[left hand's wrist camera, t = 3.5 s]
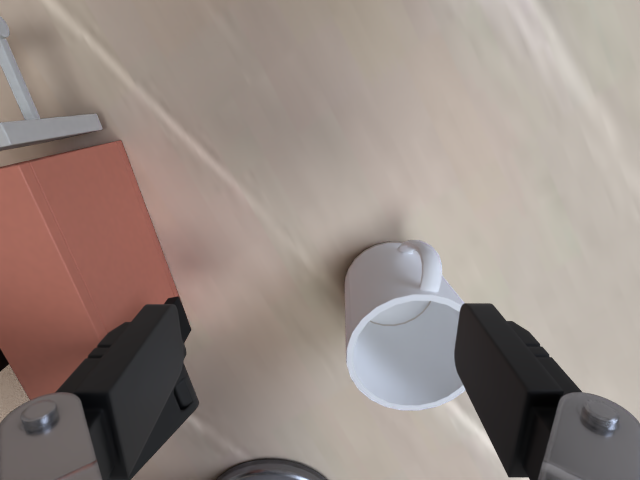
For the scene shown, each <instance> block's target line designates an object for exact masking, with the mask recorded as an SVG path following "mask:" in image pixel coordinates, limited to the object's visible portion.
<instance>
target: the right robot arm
mask: <svg viewBox="0 0 640 480" xmlns="http://www.w3.org/2000/svg"><path fill="white" fill-rule="evenodd" d="M164 304H174V305H175V306H176V307H177V310H178V315H179V322H180V329H181V336H182V343H183V351H184V358H185V356H186V348H185V346H184V342H185V341H186V339H187V337H188V335H189V333H190V331H191V327H190V325H189V322H188V319H187V317H186V314H185V311H184V309H183V306H182V303H181V301H180V298H179V296H177V297H171V298H168V299H167V300H166V302H165V303H164ZM8 364H9V363H8V361H7V359H6V357H5V356H4V354H3V352H2V350H1V349H0V371H1V370H3V369H4V368H5V367H6V366H7V365H8ZM198 405H199V401H198V398H197V396H196V393H195V390H194V388H193V385H192V383H191V380H190V378H189V375H188V373H187V371H186V368H185V366H184V363H183V367H182V371H181V374H180V376H179V378H178V380H177V382H176V384H175V386H174V388H173V390H172V392H171V394H170V396H169V398H168V400H167V402H166V404H165V406H164V408H163V410H162V412H161V414H160V416H159V418H158V420H157V422H156V424H155V426H154V428H153V430H152V432H151V434H150V436H149V438H148V440H147V442H146V444H145V446H144V448H143V450H142V452H141V454H140V456H139V458H138V460H137V462H136V464H135V466H134V468H133V470H132V472H131V474H130V476H129V478H128V479H108V480H131V479H132V478H133V476H134V475H135V474H136V473H137V472H138V471H139V470H140V469H141V468H142V467H143V466H144V465H145V463H146V462H147V461H148V460H149V459H150V458H151V457H152V456H153V455H154V454H155V453H156V452H157V451H158V449H159V448H160V447H161V446H162V445H163V444H164V443H165V442H166V441H167V440H168V439H169V438H170V437H171V435H172V434H173V433H174V432H175V431H176V430H177V429H178V428H179V427H180V426H181V425H182V424H183V423H184V421H185V420H186V419H187V418H188V417H189V416H190V415H191V414H192V413H193V412H194V411H195V410H196V408H197V407H198ZM216 480H327V479H325V478H324V477H323V476H322V475H321V474H319V473H318V472H316V471H314V470H313V469H311V468H308V467H306V466H304V465H301V464H298V463H295V462H290V461H285V460H275V459H265V460H256V461H250V462H246V463H243V464H240V465H237V466H235V467H233V468H231V469H229V470H228V471H226V472H224V473H223V474H222V475H221V476H219V477H218V478H217V479H216Z"/></svg>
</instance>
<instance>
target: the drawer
mask: <svg viewBox="0 0 640 480" xmlns="http://www.w3.org/2000/svg"><path fill="white" fill-rule="evenodd" d="M9 34H10V31H9V27H8V25H7V23H6V22H5V21H4V19H3V18H2V17H1V16H0V65H1V67H2V69H3V72H4V74H5V76H6V78H7V81H8V83H9V85H10V87H11V90H12V92H13V94H14V96H15V99H16V101H17V103H18V105H19V107H20V110H21V112H22V114H23V116H24V119H25V120H21V121H11V122H0V151H2V150H7V149H13V148H18V147H24V146H29V145H35V144H40V143H45V142H49V141H54V140H59V139H63V138H68V137H72V136H77V135H81V134H86V133H90V132H95V131H99V130H102V129H103V128H102V126H101V123H100V121H99V118H98V115H97V114H85V115H74V116H64V117H53V118H42V119H41V118H40V116H39V114H38V111H37V109H36V107H35V104H34V102H33V100H32V98H31V95H30V93H29V91H28V88H27V86H26V84H25V81H24V79H23V77H22V74H21V72H20V70H19V67H18V65H17V63H16V60H15V58H14V56H13V53H12V51H11V49H10V47H9V44H8V42H7V40H6V39H4V38H6V37H8V36H9Z"/></svg>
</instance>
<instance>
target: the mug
mask: <svg viewBox="0 0 640 480" xmlns="http://www.w3.org/2000/svg"><path fill="white" fill-rule="evenodd" d="M463 304H465V303H464V302H463V300H462V299H461V298H460V297H459V295H458V294H457V293H456V292H455V290H454V289H453V288H452V287H451V285H450V284H449V283H448V282H447V280H446V279H445V278H444V277H443V275H442V263H441V260H440V256H439V254H438V253H437V252H436V250H435V249H434V248H433V247H432V246H431V245H429V244H427V243H425V242H423V241H420V240H408V241H405V242H403V243H401V242H385V243H381V244H377V245H374V246H372V247H370V248H368V249H366V250H364V251H363V252H362V253H361V254H360V255H358V256H357V257H356V258H355V259H354V261H353V262H352V264H351V265H350V267H349V268H348V271H347V274H346V277H345V327H346V363H347V367H348V370H349V373H350V377H351V379H352V380H353V382H354V383H355V385H356V386H357V388H358V389H359V390H360V391H361V392H362V393H363V394H365V395H366V396H367V397H368V398H369V399H370V400H372V401H374V402H377V403H379V404H381V405H383V406H385V407H389V408H394V409H398V410H423V409H428V408H433V407H437V406H439V405H441V404H444V403H446V402H449V401H451V400H453V399H454V398H455V397H457V396H458V395H460V394H461V393H463V392H464V391H465V388H464V386H463V384H462V381H461V379H460V377H459V375H458V373H457V370H456V367H455V360H454V350H455V342H456V335H457V328H458V320H459V313H460V309H461V306H462V305H463Z"/></svg>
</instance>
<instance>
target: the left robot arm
mask: <svg viewBox="0 0 640 480" xmlns="http://www.w3.org/2000/svg"><path fill="white" fill-rule="evenodd" d="M183 360H184V351H183V343H182V336H181V329H180V322H179V315H178V310H177V307H176V306H175V305H174V304H146V305H145V306H144V307H143V308H142V309H141V310H140V312H139V313H138V314H137V315H136V316H135V318H134V319H133V320H132V321H131V322H124V323H123V324H121V325H120V326H118V327H116V328H115V329H113V330H112V331H110V332H108V334H107V335H106V336H105V337H104V338H103V339H102V340H101V341H100V343H99V344H98V345H97V348H94V349H93V350H92V352H91V353H90V354H89V355H88V358H85V359H84V361H83V362H82V363H81V364H80V365H79V366H78V367H77V368H76V370H75V371H74V372H73V373H72V374H71V375H70V376H69V377H68V379H67V380H66V381H65V382H64V383H63V384H62V385H61V386H60V388H59V389H58V390H57V391H56V392H55V393H50V394H46V395H43V396H39V397H37V398H34V399H32V400H30V401H28V402H26V403H24V404H22V405H20V406H19V407H17V408H16V409H14V410H13V411H12V412H10V413H9V414H8V415H7V416H6V417H5V418H4V419H3V420H2V422H1V423H0V480H108V479H128V478H129V476H130V474H131V472H132V470H133V468H134V466H135V464H136V462H137V460H138V458H139V456H140V454H141V452H142V450H143V448H144V446H145V444H146V442H147V440H148V438H149V436H150V434H151V432H152V430H153V428H154V426H155V424H156V422H157V420H158V418H159V416H160V414H161V412H162V410H163V408H164V406H165V404H166V402H167V400H168V398H169V396H170V394H171V392H172V390H173V388H174V386H175V384H176V382H177V380H178V378H179V376H180V374H181V371H182V367H183ZM454 360H455V367H456V370H457V373H458V375H459V377H460V379H461V381H462V384H463V386H464V388H465V390H466V392H467V394H468V396H469V398H470V400H471V402H472V404H473V406H474V408H475V410H476V412H477V414H478V416H479V418H480V420H481V422H482V424H483V426H484V428H485V430H486V432H487V434H488V436H489V438H490V440H491V442H492V444H493V446H494V448H495V450H496V452H497V455H498V457H499V459H500V461H501V463H502V465H503V467H504V469H505V471H506V473H507V475H508V477H529V479H530V480H640V423H639V422H638V420H637V419H636V418H635V417H634V416H633V415H632V414H631V413H630V412H628V411H627V410H626V409H624V408H623V407H621V406H620V405H618V404H616V403H614V402H612V401H610V400H608V399H606V398H603V397H601V396H597V395H594V394H590V393H583V392H582V391H581V390H580V389H579V388H578V387H577V386H576V385H575V383H574V382H573V381H572V380H571V379H570V378H569V377H568V375H567V374H566V373H565V372H564V371H563V370H562V369H561V367H560V366H559V365H558V364H557V363H556V362H555V361H554V360H553V358H552V357H549V354H548V353H547V352H546V350H545V349H544V348H543V347H540V344H539V343H538V341H537V340H536V339H535V338H534V337H533V336H532V335H531V333H530V332H529V331H527V330H525V329H524V328H522V327H521V326H519V325H517V324H516V323H514V322H513V321H506V320H505V319H504V318H503V316H502V315H501V314H500V313H499V311H498V310H497V309H496V308H495V307H494V305H492V304H490V303H465V304H463V305H462V306H461V309H460V313H459V320H458V328H457V335H456V342H455V350H454Z"/></svg>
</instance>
